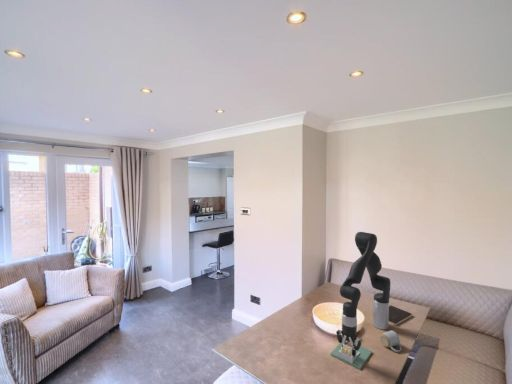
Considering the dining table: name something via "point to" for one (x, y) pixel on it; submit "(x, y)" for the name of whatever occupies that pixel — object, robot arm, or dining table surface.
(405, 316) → the hardcover book
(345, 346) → the plug block
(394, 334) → the ceramic mug
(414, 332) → the dining table surface
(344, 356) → the header board
